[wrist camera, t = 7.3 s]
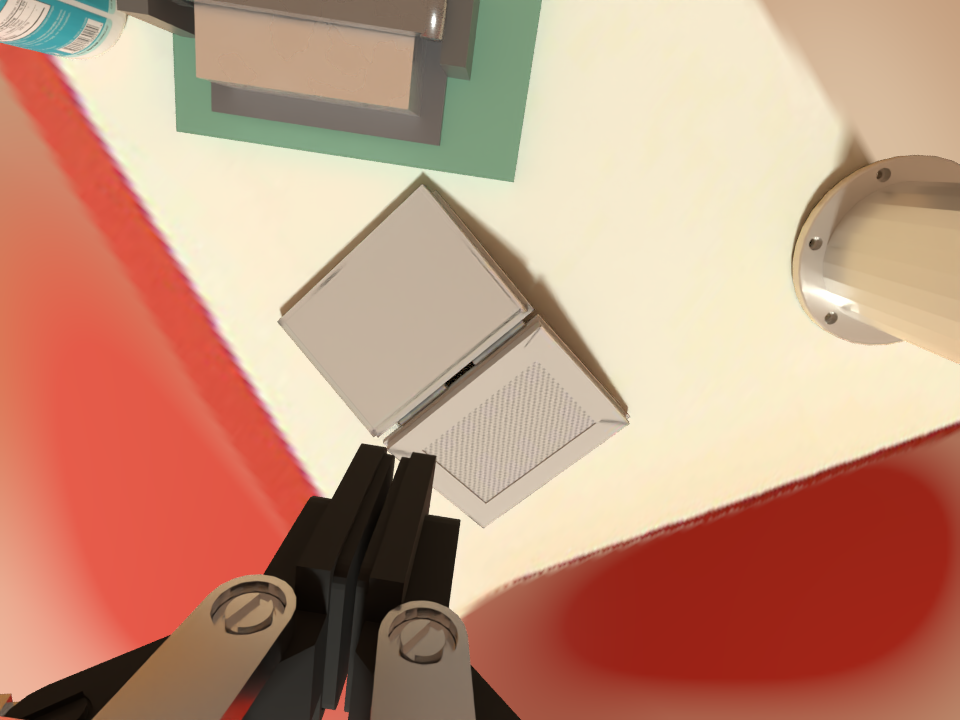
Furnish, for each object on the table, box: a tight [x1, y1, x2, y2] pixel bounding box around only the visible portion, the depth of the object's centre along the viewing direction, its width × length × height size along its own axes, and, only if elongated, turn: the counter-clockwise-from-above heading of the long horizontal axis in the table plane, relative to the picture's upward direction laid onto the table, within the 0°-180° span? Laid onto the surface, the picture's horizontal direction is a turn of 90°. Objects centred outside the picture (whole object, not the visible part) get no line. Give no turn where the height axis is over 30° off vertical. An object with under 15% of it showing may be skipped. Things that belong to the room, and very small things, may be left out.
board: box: [117, 0, 542, 182], centre depth 31 cm, size 22×16×7 cm
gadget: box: [277, 184, 630, 528], centre depth 41 cm, size 23×15×4 cm, turn 41°
